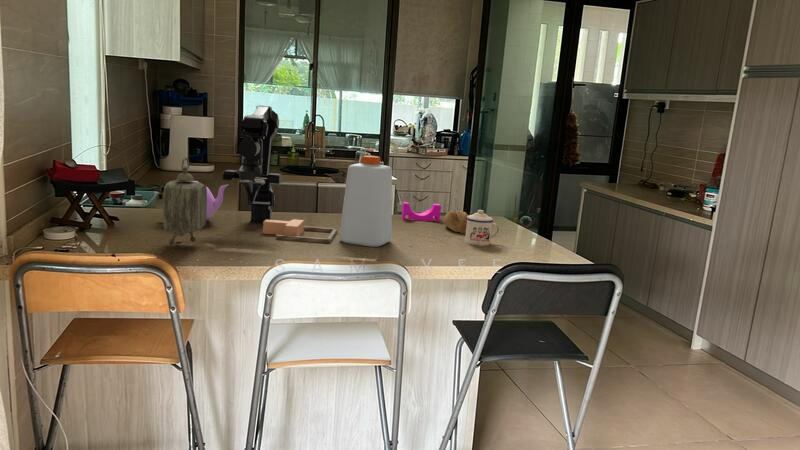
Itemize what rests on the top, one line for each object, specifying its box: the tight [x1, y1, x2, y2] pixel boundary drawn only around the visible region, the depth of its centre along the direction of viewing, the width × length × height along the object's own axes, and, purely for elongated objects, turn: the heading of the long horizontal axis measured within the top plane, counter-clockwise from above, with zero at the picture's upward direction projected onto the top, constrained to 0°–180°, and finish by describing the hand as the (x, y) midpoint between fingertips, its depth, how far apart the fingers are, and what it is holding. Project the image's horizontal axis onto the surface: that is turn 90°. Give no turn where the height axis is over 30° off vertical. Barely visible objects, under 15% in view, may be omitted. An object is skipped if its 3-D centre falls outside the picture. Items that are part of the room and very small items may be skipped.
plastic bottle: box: [339, 155, 393, 248], centre depth 195 cm, size 15×15×28 cm
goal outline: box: [275, 225, 338, 244], centre depth 199 cm, size 17×18×1 cm
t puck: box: [262, 218, 305, 237], centre depth 199 cm, size 12×12×4 cm
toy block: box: [401, 201, 442, 222], centre depth 243 cm, size 15×6×8 cm, turn 98°
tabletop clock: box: [162, 157, 207, 246], centre depth 176 cm, size 14×9×25 cm, turn 5°
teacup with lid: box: [464, 209, 501, 247], centre depth 207 cm, size 12×9×12 cm
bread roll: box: [443, 209, 469, 234], centre depth 227 cm, size 10×15×8 cm, turn 14°
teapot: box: [191, 180, 229, 221], centre depth 210 cm, size 22×16×14 cm
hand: (252, 202), depth 198 cm, fingers closed
